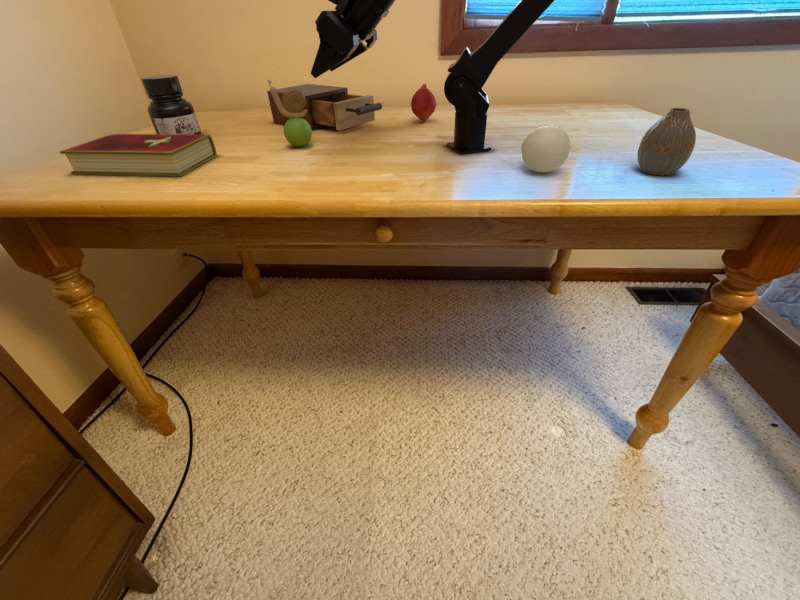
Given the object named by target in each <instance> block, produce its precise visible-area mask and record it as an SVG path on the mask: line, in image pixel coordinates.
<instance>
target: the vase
mask: <svg viewBox="0 0 800 600" xmlns="http://www.w3.org/2000/svg"><path fill="white" fill-rule="evenodd" d="M696 139H697V134H696V129H695V126H694V124H693V122H692V119H691V111H690V109H688V108H684V107H671V108H669V109H668V111H667V112H666V113H665V114H664V115H663V116H662V117H661V118H660V119H659V120H657V121H655V123H653V124H652V125H651V126H650V127H649V128H648V129H647V131H646V132H645V133H644V135H643V136H642V138H641V140H640V143H639V146H638V149H637V164H638V166H639V168H640V169H641V171H642V172H644V173H646V174H649V175H653V176H670V175H672V174H674V173H676V172H677V171H679V170H680V169H681V168H682V167H684V165H685V164H687V162H688V161H689V159H690V158H691V156H692V154H693V152H694V149H695V146H696Z"/></svg>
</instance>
